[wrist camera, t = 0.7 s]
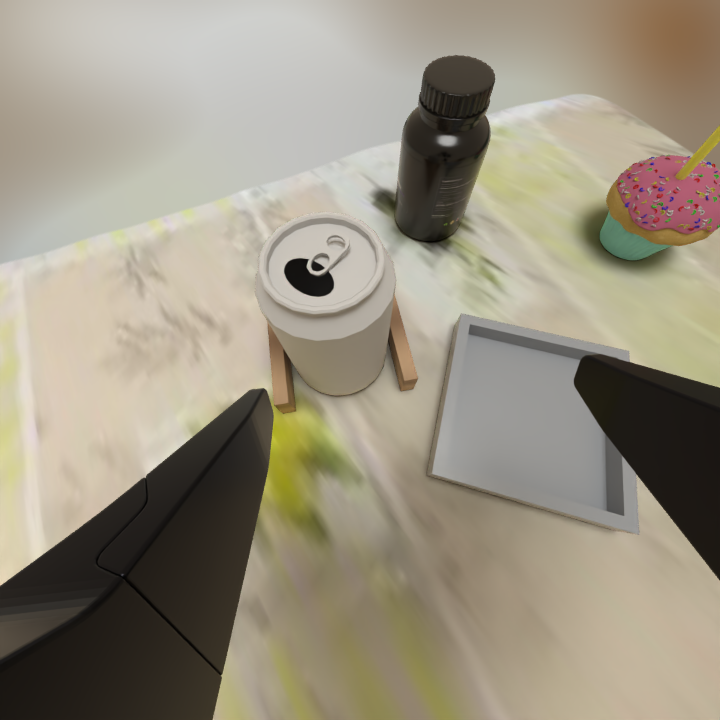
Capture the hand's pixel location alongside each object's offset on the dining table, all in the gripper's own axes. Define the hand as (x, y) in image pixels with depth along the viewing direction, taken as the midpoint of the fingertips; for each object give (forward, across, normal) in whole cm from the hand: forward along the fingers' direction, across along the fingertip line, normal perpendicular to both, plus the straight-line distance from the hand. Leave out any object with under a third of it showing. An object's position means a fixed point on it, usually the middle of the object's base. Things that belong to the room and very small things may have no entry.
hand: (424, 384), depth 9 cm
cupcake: (+23, -25, +2) cm, 34 cm away
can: (+15, +3, +8) cm, 18 cm away
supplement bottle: (+27, -7, 0) cm, 28 cm away
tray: (+10, -10, +11) cm, 18 cm away
